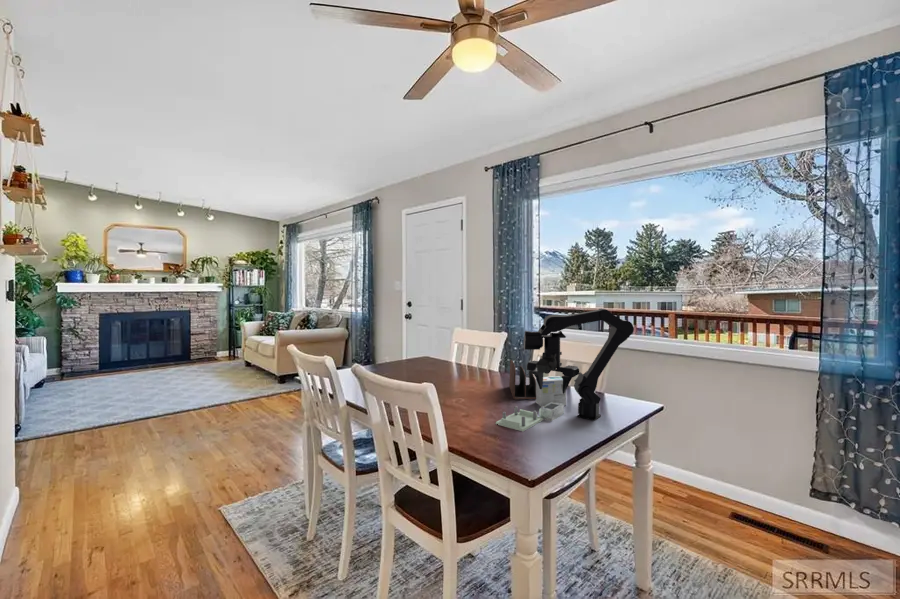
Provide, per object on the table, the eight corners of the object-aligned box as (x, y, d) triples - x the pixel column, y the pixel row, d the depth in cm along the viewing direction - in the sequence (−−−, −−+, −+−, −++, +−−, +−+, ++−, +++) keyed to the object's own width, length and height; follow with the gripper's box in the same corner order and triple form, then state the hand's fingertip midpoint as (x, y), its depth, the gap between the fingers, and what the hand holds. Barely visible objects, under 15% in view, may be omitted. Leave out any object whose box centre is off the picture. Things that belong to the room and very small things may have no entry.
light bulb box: (559, 400, 175) (559, 375, 174) (566, 405, 168) (566, 379, 167) (535, 402, 173) (535, 376, 172) (541, 407, 166) (541, 380, 165)
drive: (563, 414, 158) (563, 404, 158) (552, 422, 150) (552, 410, 150) (551, 412, 161) (551, 401, 161) (539, 419, 154) (539, 408, 153)
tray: (542, 420, 152) (542, 409, 151) (522, 431, 141) (522, 420, 141) (516, 413, 159) (516, 404, 159) (495, 424, 148) (495, 413, 148)
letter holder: (513, 400, 177) (513, 367, 176) (509, 387, 197) (509, 357, 196) (537, 400, 176) (537, 367, 176) (530, 387, 196) (530, 357, 195)
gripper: (518, 350, 154) (519, 391, 155) (566, 356, 142) (566, 401, 143) (533, 345, 163) (533, 385, 164) (580, 351, 151) (579, 393, 152)
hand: (552, 391), depth 155 cm, fingers open, 9 cm apart
